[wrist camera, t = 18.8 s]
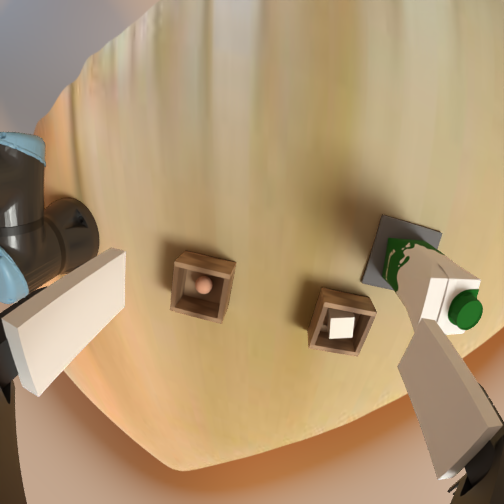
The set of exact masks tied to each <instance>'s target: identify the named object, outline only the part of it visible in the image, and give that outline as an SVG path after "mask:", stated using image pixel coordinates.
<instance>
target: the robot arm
mask: <svg viewBox="0 0 504 504" xmlns="http://www.w3.org/2000/svg"><path fill="white" fill-rule="evenodd" d="M44 167H46V162H45V143H44V141H43V139H42V138H40V137H39V136H36V135H31V134H25V133H16V132H6V133H5V132H0V302H2V303H5V304H11V303H14V302H16V301H18V300H19V301H18V303H15V304H13V305H12V306H10V307H9V308H7V309H6V310H4V311H3V312H2V313H0V504H27V502H26V497H25V493H24V488H23V482H22V477H21V470H20V463H19V455H18V447H17V435H16V420H15V386H14V382H13V379H14V378H15V377H16V376H17V375H19V378H20V381H21V383H22V386H23V387H24V388H25V389H27V390H28V391H30V392H31V393H33V394H35V395H36V396H38V397H39V396H40V395H41V394H42V393H43V391H44V390H45V389H46V388H47V387H48V386H49V385H50V384H51V383H52V382H53V381H54V379H55V378H56V377H57V376H58V375H59V374H60V373H61V372H62V371H63V370H64V369H65V368H66V366H67V365H68V364H69V363H70V362H71V361H72V360H73V359H74V358H75V357H76V356H77V355H78V354H79V353H80V352H81V351H82V349H83V348H84V347H85V346H86V345H87V344H88V343H89V342H90V341H91V340H92V339H93V338H94V337H95V336H96V335H97V334H98V333H99V332H100V331H101V330H102V329H103V328H104V327H105V326H106V325H107V324H108V323H109V322H110V321H111V320H112V319H113V318H114V317H115V316H116V315H117V314H118V313H119V312H120V311H121V310H122V309H123V308H124V307H125V261H126V251H123V250H119V249H115V248H110V249H108V250H106V251H105V252H103V253H101V254H100V255H98V256H97V253H98V249H99V233H98V228H97V225H96V222H95V220H94V218H93V216H92V214H91V212H90V211H89V210H88V208H87V207H86V206H85V205H84V204H82V203H81V202H80V201H78V200H76V199H72V198H64V199H60V200H57V201H55V202H53V203H51V204H50V205H49V206H48V207H47V208H46V209H45V210H44ZM60 274H67V275H65V276H64V277H62V278H61V279H59V280H57V281H56V282H54V283H53V284H51V285H50V286H48V287H47V286H46V287H43V288H40V289H37V288H39V287H40V286H42V285H43V284H45V283H46V282H48V281H49V280H51V279H53V278H54V277H56V276H57V275H60ZM36 289H37V290H36ZM20 299H21V300H20ZM397 367H398V369H399V372H400V374H401V377H402V379H403V382H404V384H405V387H406V389H407V392H408V394H409V397H410V400H411V402H412V405H413V408H414V410H415V413H416V415H417V418H418V421H419V424H420V427H421V429H422V432H423V435H424V438H425V441H426V444H427V447H428V450H429V453H430V456H431V459H432V463H433V466H434V469H435V473H436V476H437V479H438V480H440V479H447V478H452V477H454V476H455V475H456V474H458V473H459V472H460V471H461V470H462V469H463V468H464V467H465V470H466V474H465V475H464V476H463V477H462V478H461V479H460V480H458V481H457V482H456V483H455V484H454V485H453V486H452V487H450V489H449V490H448V492H449V493H450V491H452V490H453V489H454V488H456V487H457V489H456V491H455V492H454V493H453V495H454V496H453V499H452V501H451V503H450V504H504V422H503V420H502V418H501V416H500V415H499V413H498V411H497V410H496V408H495V406H493V403H492V401H491V400H490V398H488V395H487V393H486V391H485V390H484V388H483V387H482V386H481V385H480V384H479V383H478V382H477V381H476V379H475V378H474V376H473V374H472V373H471V371H470V370H469V368H468V367H467V365H466V364H465V362H464V361H463V359H462V358H461V356H460V355H459V353H458V352H457V351H456V349H455V348H454V346H453V345H452V343H451V342H450V340H449V339H448V338H447V336H446V335H445V333H444V332H443V331H442V329H441V328H440V327H439V325H438V324H437V322H436V321H435V320H431V319H426V318H421V320H420V322H419V325H418V327H417V329H416V331H415V333H414V335H413V337H412V339H411V341H410V343H409V345H408V347H407V349H406V351H405V353H404V355H403V357H402V359H401V361H400V363H399V364H398V366H397Z"/></svg>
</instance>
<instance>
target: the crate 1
mask: <svg viewBox="0 0 504 504" xmlns="http://www.w3.org/2000/svg"><path fill="white" fill-rule="evenodd" d="M235 267H236V262H233V261H228V260H224V259H220V258H215V257H211V256H207V255H203V254H198V253H194V252H190V251H185V252H184V253H183V254H182V255H181V256H179V257H178V258H177V259H176V260H175V262H174V272H173V282H172V293H171V305H170V310H171V311H175V312H178V313H182V314H186V315H189V316H193V317H197V318H200V319H204V320H208V321H212V322H216V323H220V324H222V321H223V319H224V316H225V314H226V312H227V309H228V305H229V299H230V294H231V289H232V283H233V278H234V273H235ZM201 276H206V277H209V278H210V279H211V281H212V283H213V287H212V290H211V291H210V292H209V293H206V294H201V293H199V292H198V291H197V290H196V288H195V282H196V280H197V279H198V278H199V277H201Z"/></svg>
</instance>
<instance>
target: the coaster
mask: <svg viewBox="0 0 504 504" xmlns="http://www.w3.org/2000/svg"><path fill="white" fill-rule="evenodd" d="M441 236H442V233H441V232H438V231H435V230H432V229H428V228H425V227H422V226H419V225H416V224H412V223H409V222H406V221H402V220H399V219H396V218H392V217H389V216H385V215H382V217H381V220H380V224H379V228H378V231H377V234H376V238H375V241H374V244H373V248H372V251H371V254H370V257H369V260H368V263H367V266H366V269H365V272H364V275H363V278H362V281H361V282H362V283H363V284H368V285H372V286H377V287H381V288H386V289H390V290H394V289H393V288H392V287H391V286H390V285H389V284H388V283H387V282H386V281H385V280H384V279H383V278H382V273H383V267H384V261H385V255H386V248H387V242H388V238H399V239H411V240H423V241H426V242H427V243H429V244H430V245H432V246H433V247H434V248H436V249H437V248H438V245H439V242H440V239H441Z"/></svg>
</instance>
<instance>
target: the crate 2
mask: <svg viewBox="0 0 504 504" xmlns="http://www.w3.org/2000/svg"><path fill="white" fill-rule="evenodd" d="M328 308H333V309H338V310H343V311H348V312H353V314H354V317H355V318H354V328H353V337H352V338H334V339H329V334H328V328H327V321H328ZM376 314H377V312H376V309H375V307H374V305H373V303H372V301H371V299H370V297H365V296H360V295H356V294H351V293H346V292H342V291H337V290H332V289H328V288H323V287H322V288H321V291H320V294H319V297H318V301H317V304H316V307H315V310H314V313H313V316H312V319H311V322H310V325H309V328H308V345H309V348H311V349H316V350H322V351H327V352H333V353H339V354H345V355H351V356H358V355H359V353H360V351H361V348H362V346H363V344H364V342H365V340H366V337H367V335H368V333H369V330H370V328H371V326H372V323H373V321H374V319H375V316H376Z"/></svg>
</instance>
